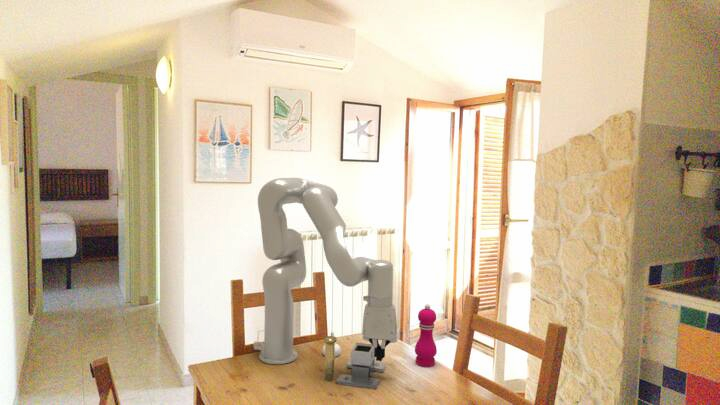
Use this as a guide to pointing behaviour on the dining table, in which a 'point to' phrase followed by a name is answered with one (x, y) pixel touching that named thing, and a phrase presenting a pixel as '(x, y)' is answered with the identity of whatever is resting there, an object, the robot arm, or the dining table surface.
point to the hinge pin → (329, 357)
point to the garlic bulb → (337, 348)
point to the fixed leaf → (359, 377)
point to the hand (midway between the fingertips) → (379, 359)
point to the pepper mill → (426, 338)
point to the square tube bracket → (364, 357)
